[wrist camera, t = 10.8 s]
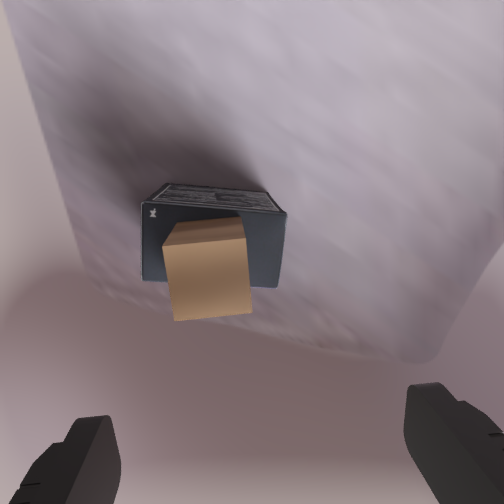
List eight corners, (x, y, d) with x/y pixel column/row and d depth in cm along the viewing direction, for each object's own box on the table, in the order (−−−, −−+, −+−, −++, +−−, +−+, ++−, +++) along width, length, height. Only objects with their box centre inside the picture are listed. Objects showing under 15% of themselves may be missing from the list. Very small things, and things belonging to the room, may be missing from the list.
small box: (161, 245, 35) (136, 285, 25) (163, 181, 33) (136, 197, 23) (263, 253, 36) (278, 293, 26) (270, 191, 34) (289, 209, 24)
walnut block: (176, 222, 24) (162, 246, 18) (240, 216, 24) (245, 238, 18) (185, 281, 25) (174, 321, 20) (246, 275, 26) (252, 312, 20)
